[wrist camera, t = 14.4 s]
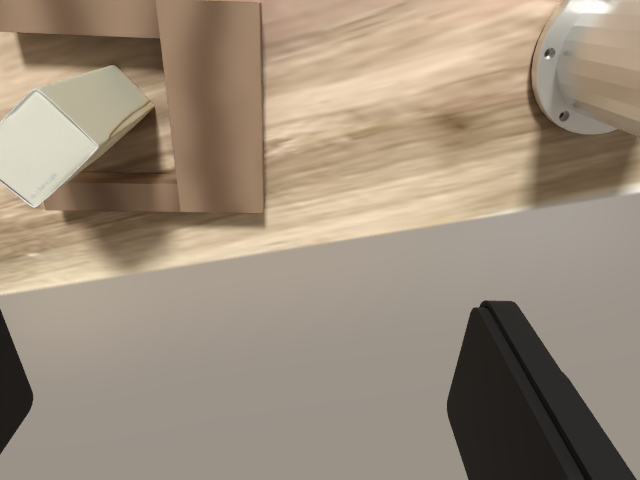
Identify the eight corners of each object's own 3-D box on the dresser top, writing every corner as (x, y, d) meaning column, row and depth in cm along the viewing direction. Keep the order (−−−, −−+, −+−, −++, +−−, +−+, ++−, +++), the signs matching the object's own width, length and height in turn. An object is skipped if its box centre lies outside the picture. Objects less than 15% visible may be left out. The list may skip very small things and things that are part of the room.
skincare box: (106, 152, 37) (34, 214, 26) (61, 110, 35) (-37, 159, 25) (157, 104, 36) (102, 149, 25) (113, 58, 34) (33, 86, 23)
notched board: (261, 3, 32) (259, 3, 30) (264, 201, 40) (263, 212, 38) (5, -10, 31) (-17, -11, 29) (59, 198, 39) (45, 210, 37)
